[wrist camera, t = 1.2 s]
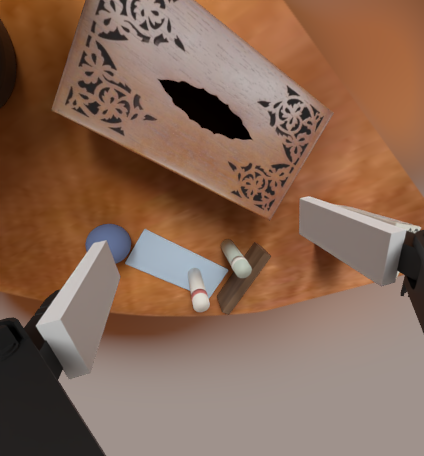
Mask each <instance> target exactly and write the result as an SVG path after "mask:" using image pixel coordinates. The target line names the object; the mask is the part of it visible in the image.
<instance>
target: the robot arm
mask: <svg viewBox="0 0 424 456" xmlns="http://www.w3.org/2000/svg"><path fill="white" fill-rule="evenodd" d="M15 79H16V60H15V54H14V50H13V46H12V43H11V40H10V37H9V35H8V33H7V30H6V28H5V26H4V24H3V23H2V21H1V19H0V108H1V107H2V106H3V105H4V104H5V103H6V101H7V100H8V98H9V97H10V95H11V93H12V90H13V88H14V84H15ZM299 234H300V235H302V236H304V237H305V238H307V239H308V240H310V241H311V242H313V243H314V244H316V245H318V246H319V247H321V248H322V249H324V250H325V251H327V252H328V253H330V254H332V255H333V256H335V257H336V258H338V259H339V260H341V261H343V262H344V263H346V264H347V265H349V266H350V267H352V268H353V269H355V270H357V271H358V272H360V273H361V274H363V275H364V276H366V277H367V278H369V279H371V280H372V281H374V282H375V283H377V284H378V285H380V286H384V285H388V284H391V283H394V282H395V280H396V276H397V271H399V272H400V273H402V274H404V275H405V277H404V281H403V285H402V290H401V296H404V293H406V292H408V297H410V300H411V302H412V305H413V307H414V310H415V313H416V315H417V318H418V320H419V323H420V325H421V328H422V330H423V333H424V230H420V231H417V232H415V233H412V232H410V231H407V230H406V229H403V228H400V227H397V226H394V225H391V224H388V223H385V222H382V221H380V220H377V219H374V218H371V217H368V216H365V215H362V214H359V213H356V212H353V211H351V210H348V209H345V208H342V207H339V206H336V205H333V204H330V203H327V202H324V201H322V200H319V199H316V198H313V197H310V196H309V197H304V198H300V220H299ZM119 280H120V275H119V272H118V269H117V267H116V264H115V261H114V259H113V256H112V253H111V251H110V248H109V245H108V243H107V240H105V241H101V242H96V243H93V245H92V246H91V247H90V249H89V250H88V252H87V253H86V255H85V256H84V257H83V259H82V260H81V262H80V263H79V265H78V266H77V267H76V269H75V270H74V272H73V273H72V275H71V276H70V277H69V279H68V280H67V282H66V283H65V285H64V286H63V287H62V289H61V290H57V291H55V292H54V293H53V294H51V295H50V296H49V297H48V298H47V299H46V300H45V301H44V302H43V304H42V305H41V306H40V309H38V310H37V312H36V313H35V316H33V317H32V318H31V320H30V321H29V322H28V324H27V325H26V326H25V327H24V328H23V327H22V325H21V324H20V322H19V320H18V319H16V318H6V319H3V320H0V456H106V455H105V453H104V452H103V450H102V448H101V447H100V446H99V444H98V442H97V441H96V439H95V437H94V436H93V434H92V433H91V431H90V430H89V428H88V426H87V425H86V423H85V422H84V420H83V419H82V417H81V416H80V414H79V412H78V411H77V409H76V408H75V406H74V405H73V403H72V401H71V400H70V398H69V397H68V395H67V394H66V392H65V390H64V389H63V387H62V386H61V384H60V383H59V381H58V379H59V376H60V374H61V372H62V370H64V372H65V374H66V375H67V377H68V378H69V379H72V378H75V377H79V376H82V375H85V374H89V373H90V372H91V369H92V365H93V362H94V359H95V356H96V353H97V350H98V347H99V343H100V340H101V337H102V334H103V331H104V327H105V324H106V321H107V318H108V315H109V312H110V309H111V305H112V302H113V299H114V296H115V293H116V290H117V286H118V283H119Z"/></svg>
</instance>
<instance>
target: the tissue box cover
mask: <svg viewBox="0 0 424 456" xmlns="http://www.w3.org/2000/svg"><path fill="white" fill-rule="evenodd" d="M158 79H159V80H172V81H176V82H178V83H179V82H181V81H184V82H187V83H188V84H190V85H191V86H193V87H195V88H198V89H202V88H204V89H205V91H207V92H208V93H210V94H211V95H217V97H218V99H219V100H220V101H221V102H223V103H224V104H228V106H229V109H230V110H231V111H232V112H233V113H234V114H235V115H236V116H238V117H239V118H240V119H241V120H242V125H243V126H244V127H245V128H246V129H247V131H248V132H249V135H250V137H251V138H252V140H241V139H237V138H235V139H233V140H232V139H229V138H227V137H226V136H224V135H221V134H213V132H211V131H210V130H208V129H205V128H201V127H200V125H199V124H198V123H196V122H195V121H193V120H189V117H188V115H187V114H186V113H185V112H184V111H183V110H182V109H180V108H178V107H177V106H175V105H174V103H173V102H172V98H171V97H170V96H169V95H168V94H167V93H166V92H165V90H164V88H163V87H162V85H161V83H160V82H159V80H158ZM51 111H53V112H55V113H57V114H59V115H61V116H63V117H65V118H67V119H69V120H71V121H73V122H75V123H77V124H79V125H81V126H83V127H85V128H87V129H89V130H91V131H93V132H95V133H97V134H99V135H101V136H103V137H105V138H107V139H109V140H111V141H113V142H115V143H117V144H119V145H121V146H123V147H125V148H127V149H129V150H130V151H132V152H134V153H136V154H138V155H140V156H142V157H144V158H146V159H148V160H150V161H152V162H154V163H156V164H158V165H160V166H162V167H164V168H166V169H168V170H170V171H172V172H174V173H176V174H178V175H180V176H182V177H184V178H186V179H188V180H190V181H192V182H194V183H196V184H198V185H200V186H202V187H204V188H206V189H208V190H210V191H212V192H213V193H215V194H217V195H219V196H221V197H223V198H225V199H227V200H229V201H231V202H233V203H235V204H237V205H239V206H241V207H243V208H245V209H247V210H249V211H251V212H253V213H255V214H257V215H259V216H261V217H263V218H265V219H267V220H269V221H270V220H271V218H272V216H273V215H274V213H275V211H276V210H277V208H278V206H279V204H280V203H281V201H282V199H283V198H284V196H285V194H286V193H287V191H288V189H289V188H290V186H291V184H292V183H293V181H294V179H295V177H296V176H297V174H298V172H299V171H300V169H301V167H302V166H303V164H304V162H305V161H306V159H307V157H308V156H309V154H310V152H311V151H312V149H313V147H314V145H315V144H316V142H317V140H318V139H319V137H320V135H321V134H322V132H323V130H324V129H325V127H326V125H327V124H328V122H329V120H330V118H331V117H332V115H333V112H332V111H330V110H329V109H328V108H327V107H326V106H324V105H323V104H322V103H321V102H319V101H318V100H317V99H316V98H314V97H313V96H312V95H311V94H310V93H308V92H307V91H306V90H305V89H303V88H302V87H301V86H300V85H298V84H297V83H296V82H295V81H293V80H292V79H291V78H290V77H289V76H287V75H286V74H285V73H284V72H282V71H281V70H280V69H279V68H277V67H276V66H275V65H274V64H273V63H271V62H270V61H269V60H268V59H266V58H265V57H264V56H263V55H261V54H260V53H259V52H258V51H256V50H255V49H254V48H253V47H252V46H250V45H249V44H248V43H247V42H245V41H244V40H243V39H242V38H240V37H239V36H238V35H237V34H235V33H234V32H233V31H232V30H231V29H229V28H228V27H227V26H226V25H224V24H223V23H222V22H221V21H219V20H218V19H217V18H216V17H215V16H213V15H212V14H211V13H210V12H208V11H207V10H206V9H205V8H203V7H202V6H201V5H200V4H198V3H197V2H196V1H195V0H86V1H85V4H84V7H83V10H82V13H81V17H80V20H79V23H78V26H77V30H76V33H75V36H74V39H73V42H72V46H71V49H70V52H69V55H68V58H67V62H66V65H65V68H64V71H63V74H62V78H61V81H60V84H59V87H58V90H57V94H56V97H55V100H54V103H53V106H52V110H51Z"/></svg>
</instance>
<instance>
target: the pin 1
mask: <svg viewBox="0 0 424 456" xmlns="http://www.w3.org/2000/svg"><path fill="white" fill-rule="evenodd" d="M188 280H189V286H190V291H191V299H192V303H193V308H194V310H195V311H197V312H204V311H206V310H207V309H208V308H209V306H210V303H209V299H208V295H207V292H206V289H205V286H204V282H203V279H202V275H201V272H200V270H199V269H198V268H191V269H190V270H189V271H188Z"/></svg>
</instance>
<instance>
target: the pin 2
mask: <svg viewBox="0 0 424 456" xmlns="http://www.w3.org/2000/svg"><path fill="white" fill-rule="evenodd" d="M221 249H222V251H223V252H224V254H225V256H226V258H227V259H228V261H229V263H230V265H231V267H232V269H233V271H234V272H235V274H236V275H237V277H239V278H246V277H248V276H249V275H250V274H251V271H252V268H251V266H250V265H249V263H248V261H247V260H246V259H245V257H244V256H243V255H242V254H241V252H240V251H239V250H238V248H237V247H236V246H235V244H234V243H233V241H232V240H229V239H226V240H224V241H223V242H222V243H221Z"/></svg>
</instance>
